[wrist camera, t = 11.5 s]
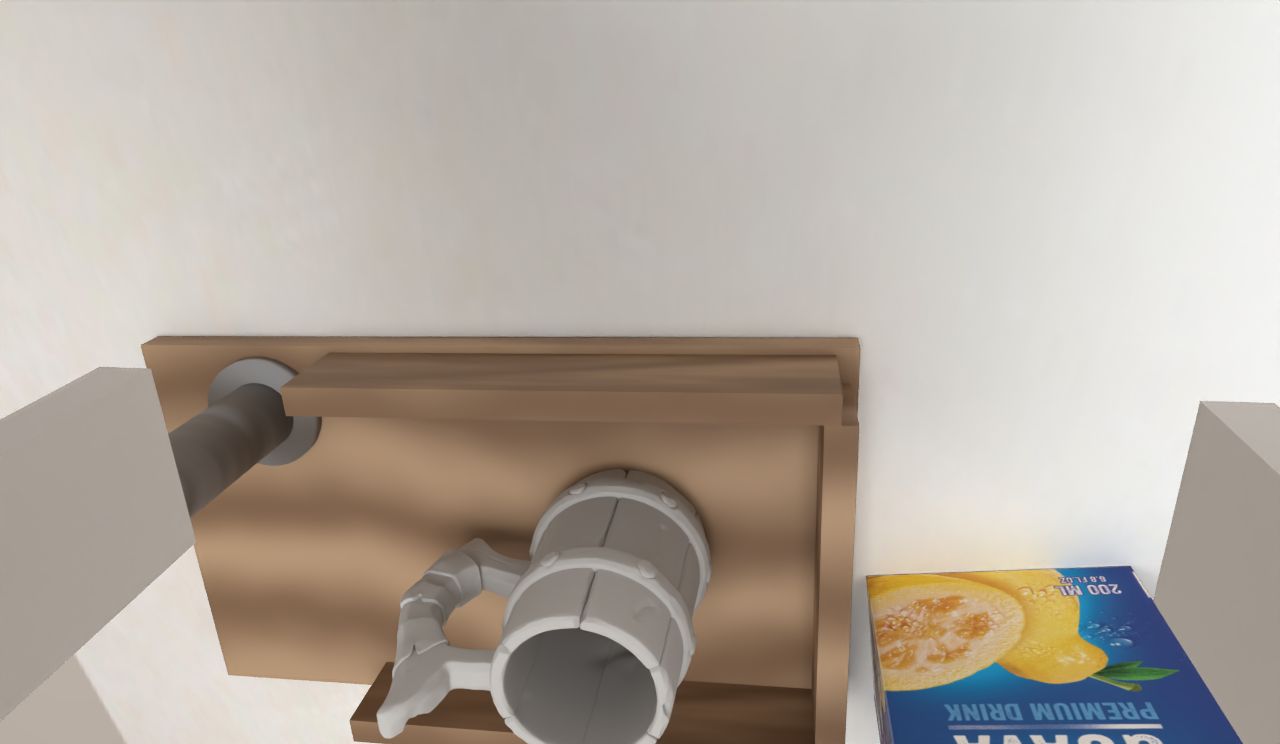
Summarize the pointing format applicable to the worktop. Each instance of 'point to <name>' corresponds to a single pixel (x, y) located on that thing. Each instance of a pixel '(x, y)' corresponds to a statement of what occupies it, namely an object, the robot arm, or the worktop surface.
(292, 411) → the wooden tray with post
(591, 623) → the mug
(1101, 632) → the beverage box
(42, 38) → the worktop surface
